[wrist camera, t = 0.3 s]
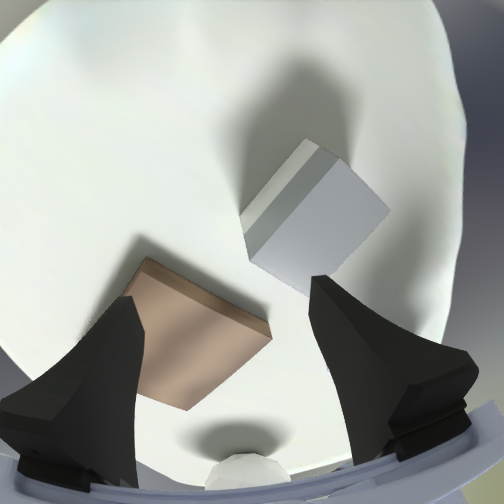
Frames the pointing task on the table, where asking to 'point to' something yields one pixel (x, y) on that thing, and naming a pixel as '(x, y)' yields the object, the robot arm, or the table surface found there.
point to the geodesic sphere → (245, 472)
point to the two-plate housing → (309, 217)
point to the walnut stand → (189, 336)
